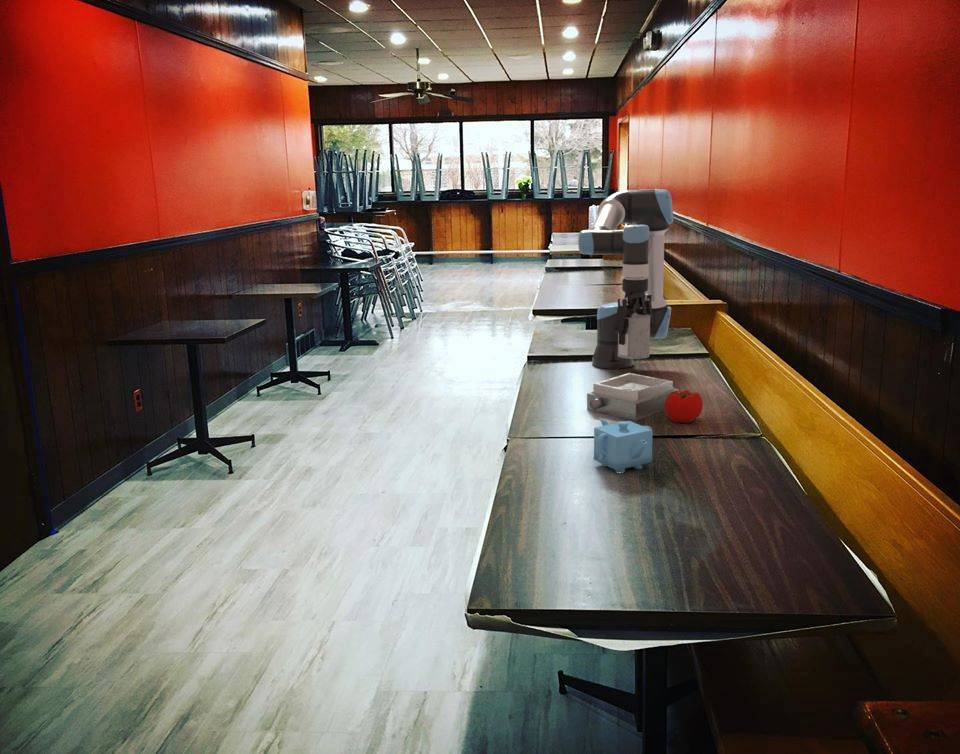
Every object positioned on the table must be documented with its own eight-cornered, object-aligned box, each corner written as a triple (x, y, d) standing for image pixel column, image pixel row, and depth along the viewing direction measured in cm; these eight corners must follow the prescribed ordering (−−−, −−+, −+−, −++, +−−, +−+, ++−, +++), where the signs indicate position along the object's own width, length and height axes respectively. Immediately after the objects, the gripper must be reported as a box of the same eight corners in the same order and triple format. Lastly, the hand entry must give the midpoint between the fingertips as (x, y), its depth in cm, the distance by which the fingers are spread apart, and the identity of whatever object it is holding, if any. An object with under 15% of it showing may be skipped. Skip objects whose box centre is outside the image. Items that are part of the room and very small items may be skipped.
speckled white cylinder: (647, 352, 245) (648, 312, 242) (651, 359, 236) (652, 318, 233) (616, 352, 246) (617, 312, 243) (618, 359, 237) (619, 318, 234)
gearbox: (630, 394, 259) (630, 371, 257) (677, 404, 246) (678, 380, 244) (580, 411, 242) (580, 386, 240) (629, 423, 229) (629, 397, 227)
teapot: (618, 483, 185) (618, 437, 183) (574, 460, 201) (574, 417, 198) (671, 470, 192) (672, 425, 190) (625, 449, 208) (625, 407, 205)
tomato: (708, 419, 230) (709, 390, 228) (689, 428, 223) (690, 399, 221) (675, 413, 237) (676, 385, 235) (656, 421, 230) (657, 392, 228)
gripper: (646, 273, 245) (644, 344, 251) (601, 281, 230) (600, 356, 236) (667, 275, 240) (665, 347, 245) (622, 283, 225) (621, 360, 231)
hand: (633, 352), depth 241 cm, fingers closed on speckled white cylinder, 9 cm apart
